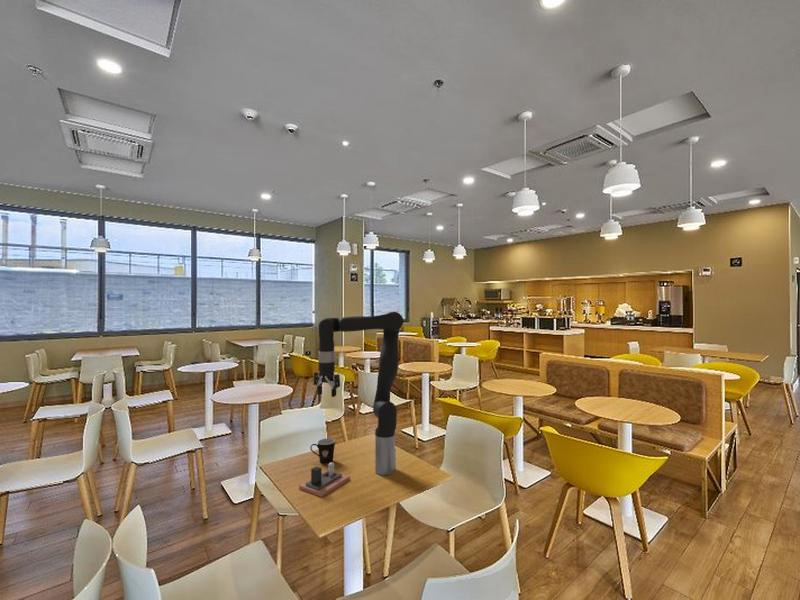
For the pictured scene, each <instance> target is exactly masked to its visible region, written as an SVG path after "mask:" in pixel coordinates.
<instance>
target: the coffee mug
mask: <svg viewBox="0 0 800 600" xmlns="http://www.w3.org/2000/svg"><path fill="white" fill-rule="evenodd" d="M335 445H336V440H335V439H334V438H322V439H319V440H318V441H317V444H316V443H313V444H311V445H310V447H309V448H310V451H311V452H312V453H313V454H314V455H316V456H318V459H319V463H320V464H321V465H329V463H331V462H332V463H334V454H335ZM313 446H316V447H317V450H318V453H317V452H316V451H314V450H313V449H312V448H313Z"/></svg>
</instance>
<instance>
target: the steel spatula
mask: <svg viewBox="0 0 800 600" xmlns="http://www.w3.org/2000/svg"><path fill="white" fill-rule="evenodd" d="M310 472H311V473H310V475H311V477H310V479H311V481H309V482H307V483H306V486H307V487H310V488H313V489H316V490H320V489H322V488H323V487H325V486H327V485H329V484H330V483H332V482H334V481H335V480H337V479H339V478H340V477H342V474H343V473H342V472H338V473H337V471H334V476H333V477H332V478H328V477H327V476H328V475H329V471H327V472H325V471H324V472H325V473H323V472H322V467H318V466H315V467H312V468H311V471H310ZM321 473H323V474H321Z"/></svg>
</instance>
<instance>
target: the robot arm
mask: <svg viewBox="0 0 800 600" xmlns="http://www.w3.org/2000/svg"><path fill="white" fill-rule="evenodd" d="M318 323H319V324H318V340H319V341H318V358H317V359H318V363H317V364H318V371H316V372H314V373H313V386H316V390H317V391H316V392H317V395H318V396H322V394H323V384H324V383H325V384H328V385H329V386H330V388H331V389H330V390H331V392H330V393H331V398H335V397H336V396H337V389H338V388H340V387H341V379H340V376H341V375H340V374H339V373H337V374H335V370H336V365H335V363H336V362H335V361H336V355H335V340H334V337H335V336H334V333H337V332H343V333H346V332H347V333H349V332H361V331H370V330H383V333H382V335H383V336H382V337H383V338H382V343H381V348H380V354H379V360H378V370H377V371H378V373H377V382H376V391H375V396H374V402H373V407H372V411H373V414H374V416H376V418H377V421H378V422H377V427H376V428H375V429H374V433H375V434H374V445H375V447H374V448H375V449H374V450H375V451H374V457H375V459H374V461H375V462H374V465H375V466H374V467H375V468H374V469H375V473H376V474H377V475H378V476H379V475H380V476H390V475H393V474H394V473H395V471H396V469H397V468H396V461H397V460H396V459H397V458H396V457H397V456H396V455H397V454H396V447H395V446H396V445H395V444H396V443H395V442H396V437H395V435H396V430H397V422H398V421H397V417H398V416H397V413H398V412H397V407H396V404H395V403H393V402H392V401H391V389H392V387H393V384H394V381H395V380H396V377H397V374H398V369H399V343H398V342H399V334H400V329H401V328H402V327H403V325H404V317H403V316H402V314H400V313H399V312H397V311H390V312H387V313H384V314H377V315H370V316H369V315H368V316H367V315H366V316H361V315H359V316H357V315H356V316H353V315H352V316H342V317H324V318H323V319H321V320H320V321H319V322H318Z"/></svg>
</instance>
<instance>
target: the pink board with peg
mask: <svg viewBox="0 0 800 600" xmlns="http://www.w3.org/2000/svg"><path fill="white" fill-rule="evenodd" d="M327 465H328V469H326V470H325V471H323V472H321V474H323V473H325V472H327V471H329V475H328V476H327V477H328V478H332V477H333V476H334V472H335V463H334V462H331V463H329V464H327ZM336 472H337V471H336ZM337 473H339V472H337ZM341 474H342V477H340V478H339V479H337V480H335V481H334V482H332V483H330V484H329V485H327V486H325V487H323V488H322V489H320V490H316V489H313V488H310V487H307V486H306V483H307V482H309V481H311V478H310V479H308V480H306V481H305V482H302V483H301V484H299V485H298V490H300V491H304V492H307V493H308V494H309V493H310V494H312V495H315V496H317V497H321V498H323V497H324V496H325V495H328V493H330V492H332V491H334V490H335V489H337V488H338V487H340V486H341V485H343V484H344V483H346V482H348V481H350V480H351V475H348V474H344V473H341Z"/></svg>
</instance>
